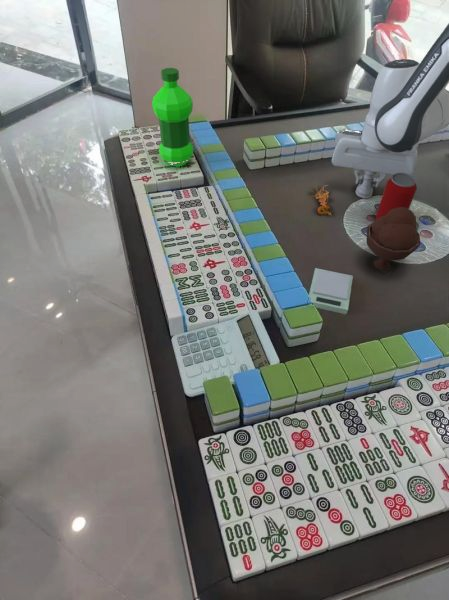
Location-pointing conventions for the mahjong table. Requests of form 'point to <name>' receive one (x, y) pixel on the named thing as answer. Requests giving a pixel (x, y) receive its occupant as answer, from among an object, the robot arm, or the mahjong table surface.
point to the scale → (331, 290)
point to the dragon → (323, 200)
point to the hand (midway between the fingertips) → (366, 184)
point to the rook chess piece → (366, 185)
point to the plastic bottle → (173, 119)
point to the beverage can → (397, 193)
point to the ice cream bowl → (393, 236)
